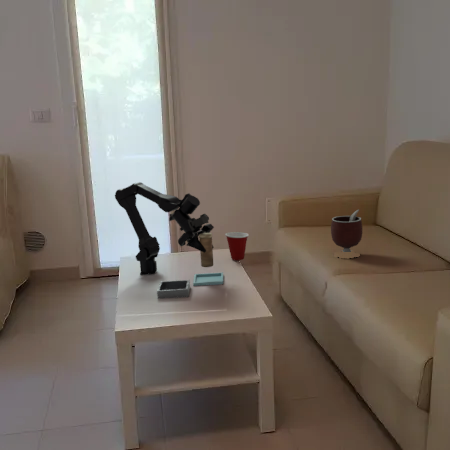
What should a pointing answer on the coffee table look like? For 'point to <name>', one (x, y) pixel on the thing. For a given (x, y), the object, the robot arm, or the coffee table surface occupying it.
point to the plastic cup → (237, 244)
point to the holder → (173, 289)
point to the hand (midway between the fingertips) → (209, 250)
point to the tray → (208, 279)
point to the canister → (207, 243)
